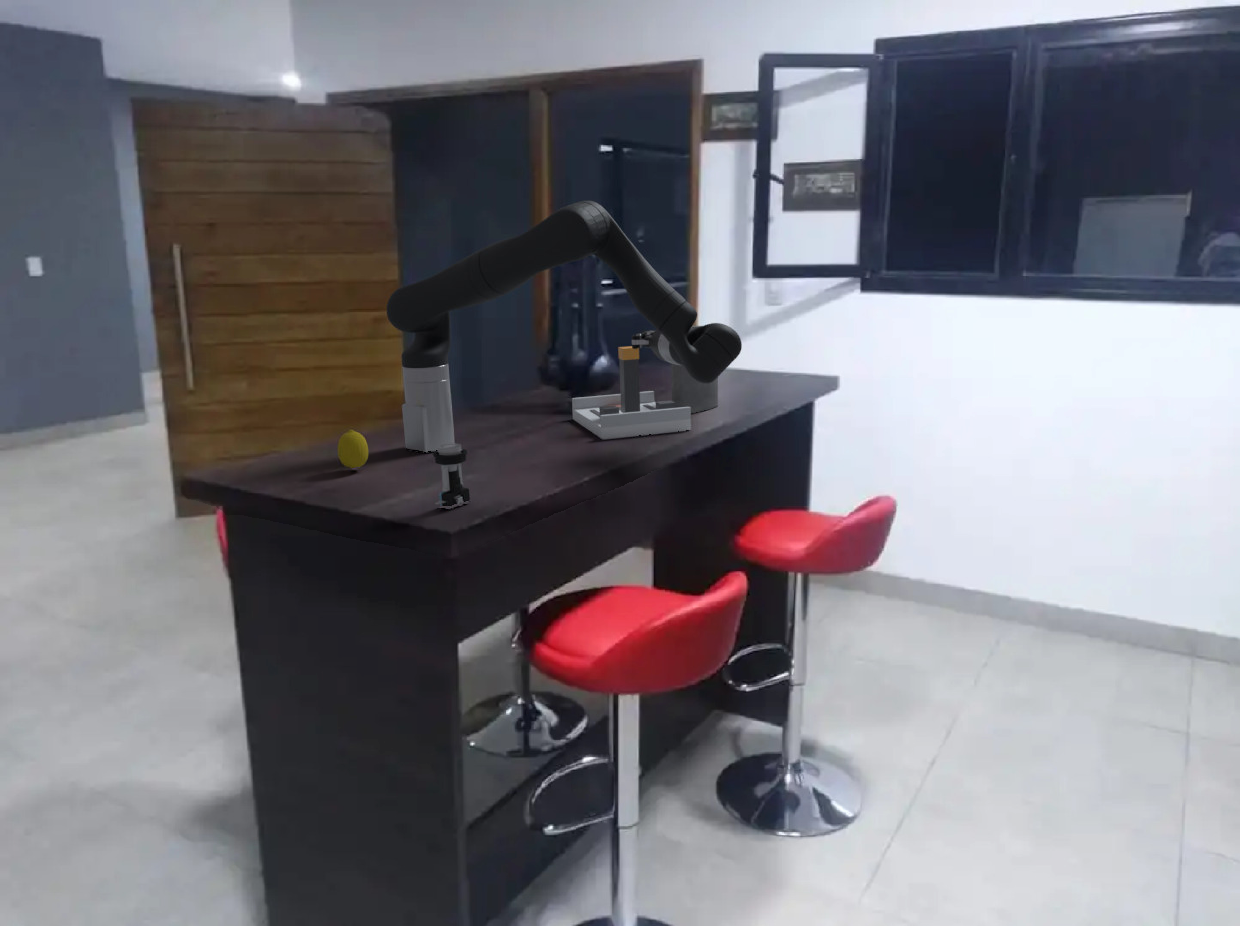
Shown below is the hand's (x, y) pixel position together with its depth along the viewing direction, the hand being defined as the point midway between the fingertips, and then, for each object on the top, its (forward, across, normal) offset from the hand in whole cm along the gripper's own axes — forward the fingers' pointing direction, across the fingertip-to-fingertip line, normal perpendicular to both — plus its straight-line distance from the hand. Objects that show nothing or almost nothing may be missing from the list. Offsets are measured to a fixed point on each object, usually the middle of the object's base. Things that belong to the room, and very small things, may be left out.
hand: (646, 336), depth 187 cm
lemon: (-4, +60, +21) cm, 64 cm away
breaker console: (+13, 0, +21) cm, 25 cm away
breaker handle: (+12, 0, +18) cm, 22 cm away
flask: (+22, -20, +21) cm, 37 cm away
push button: (-35, +47, +21) cm, 62 cm away
